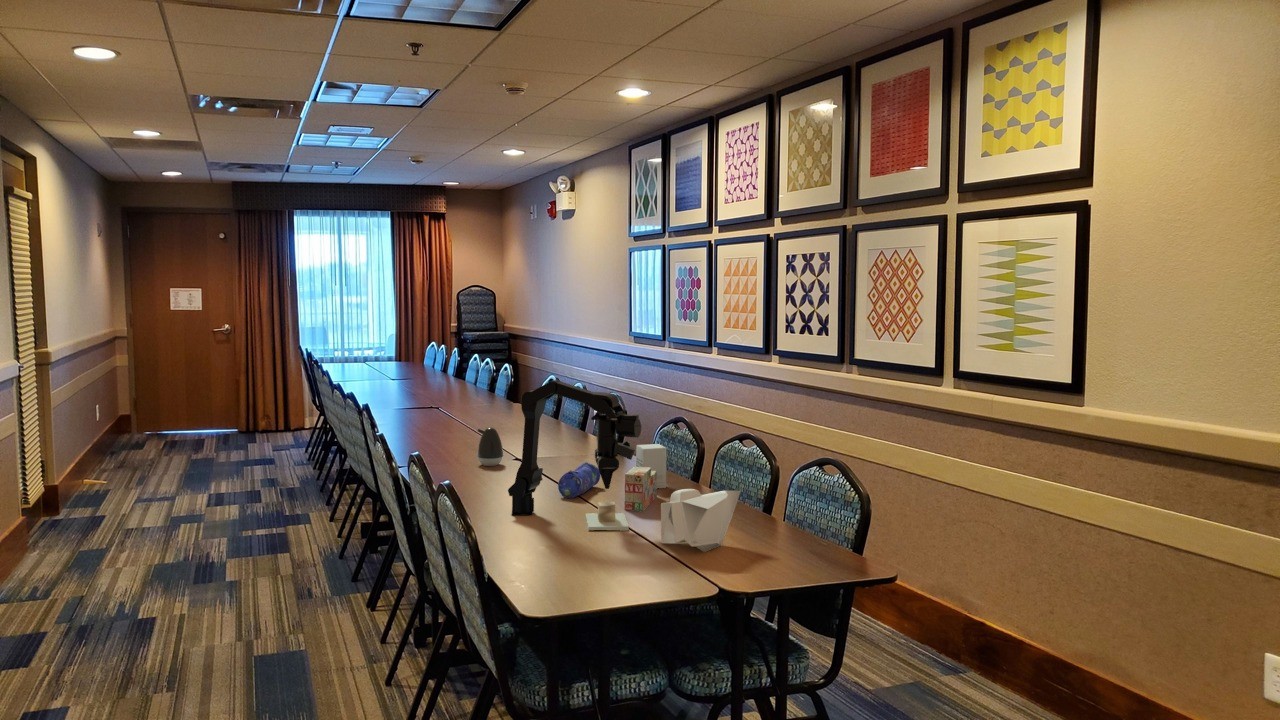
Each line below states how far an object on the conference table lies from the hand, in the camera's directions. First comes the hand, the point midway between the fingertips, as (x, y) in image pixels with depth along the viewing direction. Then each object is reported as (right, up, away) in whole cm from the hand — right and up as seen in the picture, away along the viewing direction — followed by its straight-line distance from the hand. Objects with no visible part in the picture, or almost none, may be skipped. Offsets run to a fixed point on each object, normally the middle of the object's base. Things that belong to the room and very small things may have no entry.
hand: (606, 485), depth 282 cm
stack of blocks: (+11, -10, +28) cm, 31 cm away
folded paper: (+29, -15, -22) cm, 39 cm away
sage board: (0, -12, +1) cm, 12 cm away
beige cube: (0, -11, +1) cm, 11 cm away
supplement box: (+14, -8, +53) cm, 56 cm away
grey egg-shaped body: (-50, -4, +87) cm, 101 cm away
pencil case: (-11, -9, +42) cm, 45 cm away
